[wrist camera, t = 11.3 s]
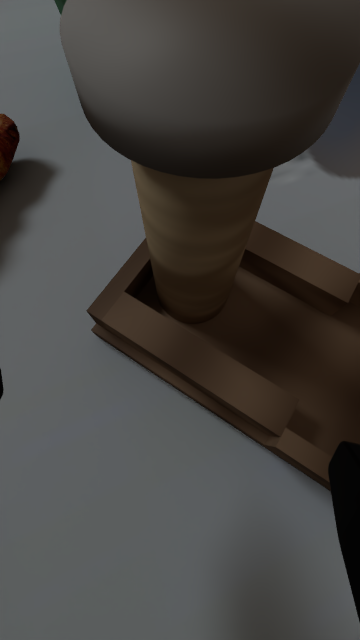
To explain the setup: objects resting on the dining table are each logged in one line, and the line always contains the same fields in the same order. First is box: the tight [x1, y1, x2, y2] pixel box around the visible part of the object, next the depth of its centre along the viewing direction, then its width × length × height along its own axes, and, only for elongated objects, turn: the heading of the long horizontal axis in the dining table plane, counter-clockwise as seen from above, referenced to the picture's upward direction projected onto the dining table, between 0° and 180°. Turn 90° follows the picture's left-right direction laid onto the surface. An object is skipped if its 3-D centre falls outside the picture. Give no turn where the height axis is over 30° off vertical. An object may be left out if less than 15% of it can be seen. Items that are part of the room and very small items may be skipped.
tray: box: [87, 221, 360, 491], centre depth 17 cm, size 20×11×3 cm, turn 57°
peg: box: [60, 0, 360, 324], centre depth 12 cm, size 6×6×13 cm
